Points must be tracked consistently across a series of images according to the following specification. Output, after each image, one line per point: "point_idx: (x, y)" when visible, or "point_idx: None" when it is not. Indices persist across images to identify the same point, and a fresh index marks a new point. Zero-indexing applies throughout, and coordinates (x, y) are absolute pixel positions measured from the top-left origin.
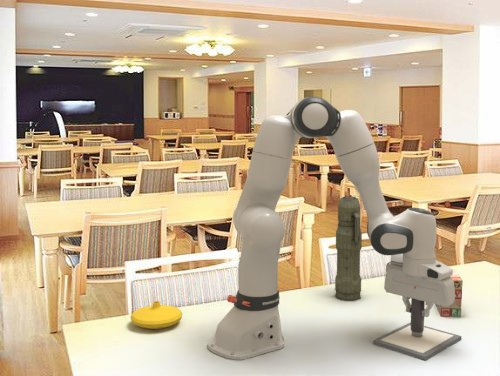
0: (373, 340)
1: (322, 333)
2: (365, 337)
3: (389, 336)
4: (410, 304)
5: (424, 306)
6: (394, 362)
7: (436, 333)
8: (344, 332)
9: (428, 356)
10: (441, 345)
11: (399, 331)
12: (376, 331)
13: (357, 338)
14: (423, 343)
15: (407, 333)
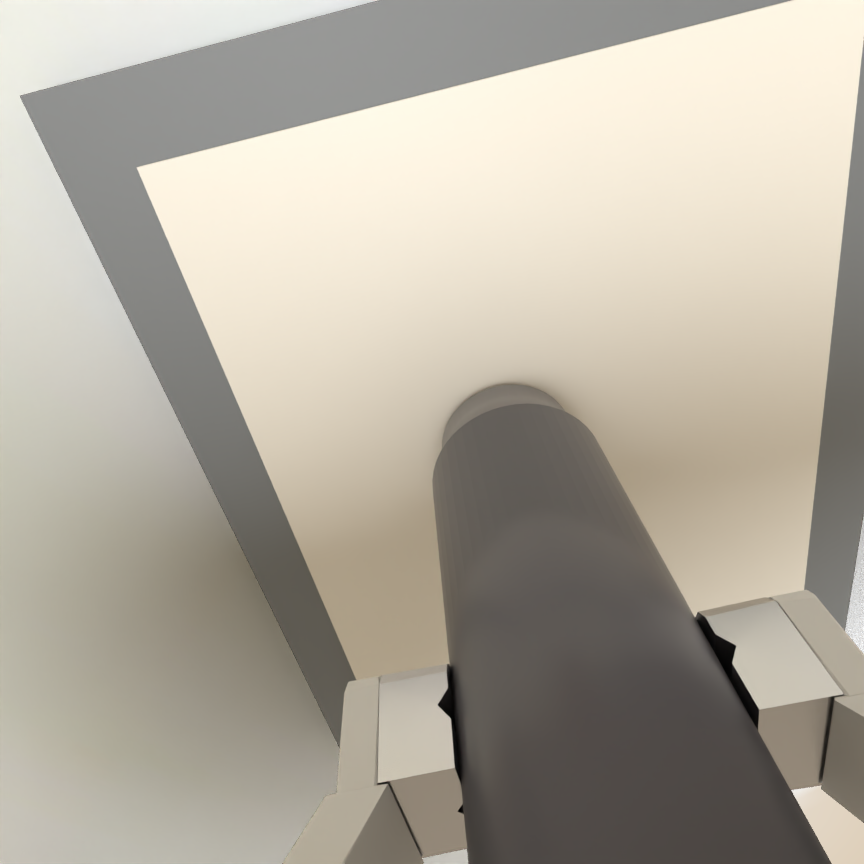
0: None
1: (4, 861)
2: (203, 712)
3: (362, 652)
4: (384, 809)
5: (777, 767)
6: None
7: (625, 170)
8: (33, 766)
9: None
10: (851, 407)
11: (300, 508)
12: (104, 580)
13: (196, 757)
14: (690, 528)
15: (397, 480)
